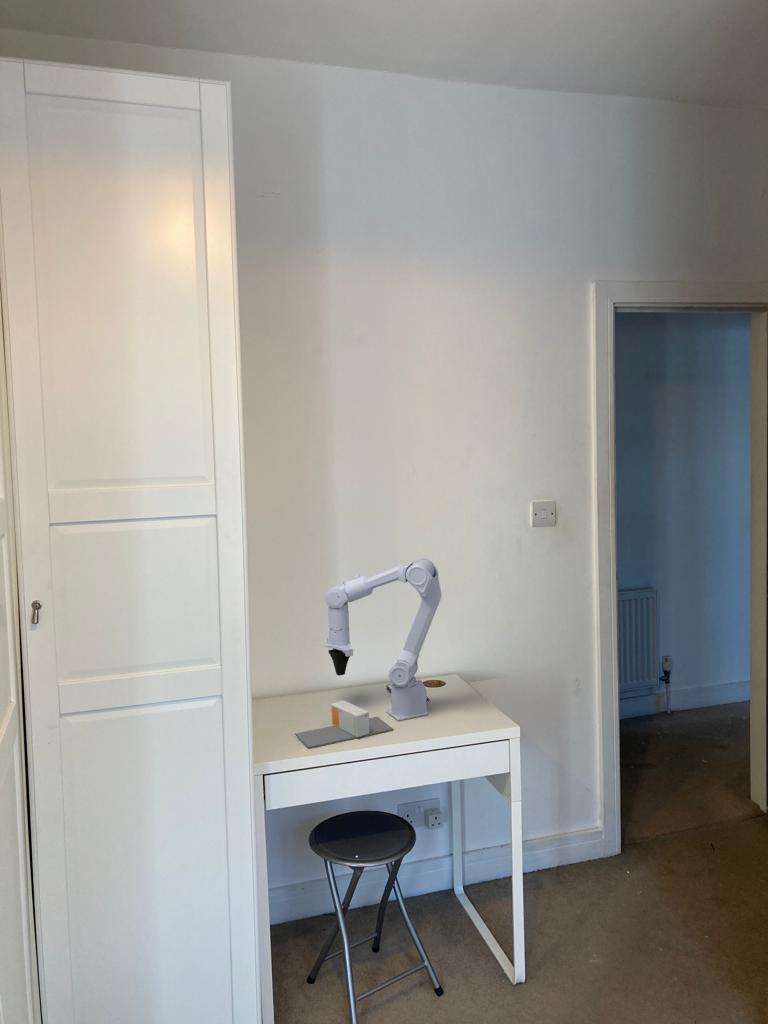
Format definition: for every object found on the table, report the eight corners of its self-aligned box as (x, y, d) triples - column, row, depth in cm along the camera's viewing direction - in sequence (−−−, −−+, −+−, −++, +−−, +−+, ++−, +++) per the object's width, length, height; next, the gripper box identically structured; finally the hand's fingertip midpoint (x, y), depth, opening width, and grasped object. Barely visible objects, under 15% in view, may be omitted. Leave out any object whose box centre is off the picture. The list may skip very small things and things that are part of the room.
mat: (377, 718, 215) (377, 716, 215) (393, 730, 206) (393, 728, 206) (295, 735, 205) (295, 733, 205) (308, 749, 196) (308, 747, 196)
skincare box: (330, 703, 210) (356, 715, 200) (343, 699, 212) (369, 711, 203) (331, 725, 210) (357, 738, 201) (343, 721, 213) (370, 733, 204)
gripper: (316, 624, 225) (318, 669, 226) (335, 635, 212) (337, 684, 213) (339, 620, 228) (340, 666, 229) (359, 632, 215) (360, 679, 216)
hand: (340, 674), depth 221 cm, fingers closed
